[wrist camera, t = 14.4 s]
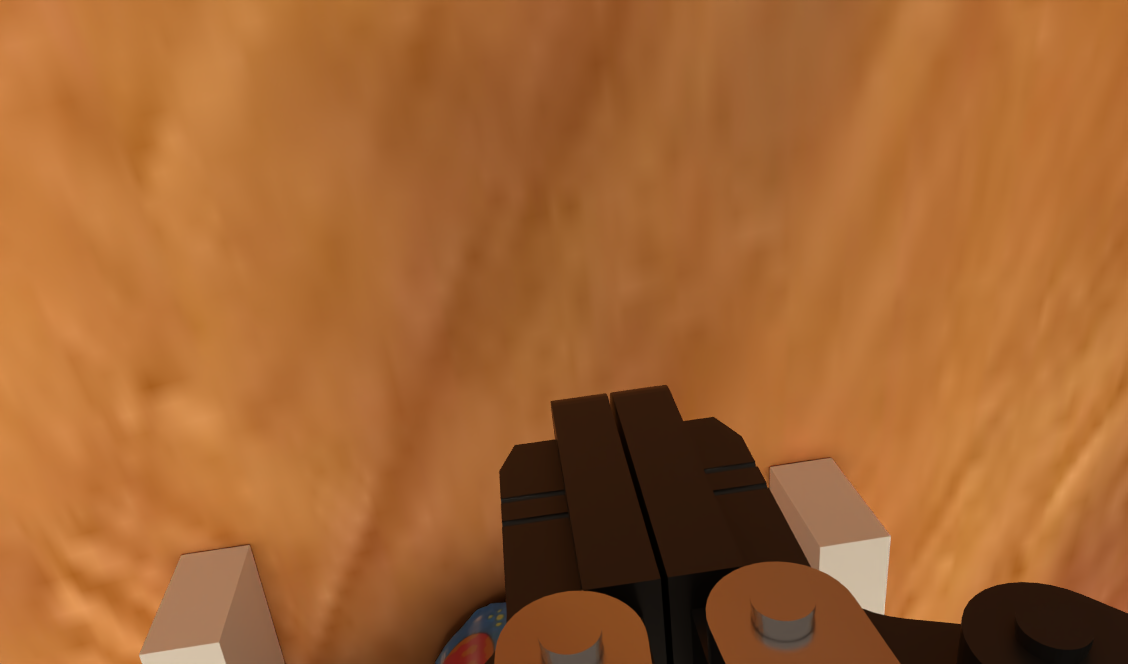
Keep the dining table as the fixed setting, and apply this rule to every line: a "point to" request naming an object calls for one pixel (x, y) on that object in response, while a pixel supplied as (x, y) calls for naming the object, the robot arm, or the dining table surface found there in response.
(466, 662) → the snack cup
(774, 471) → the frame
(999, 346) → the dining table surface
